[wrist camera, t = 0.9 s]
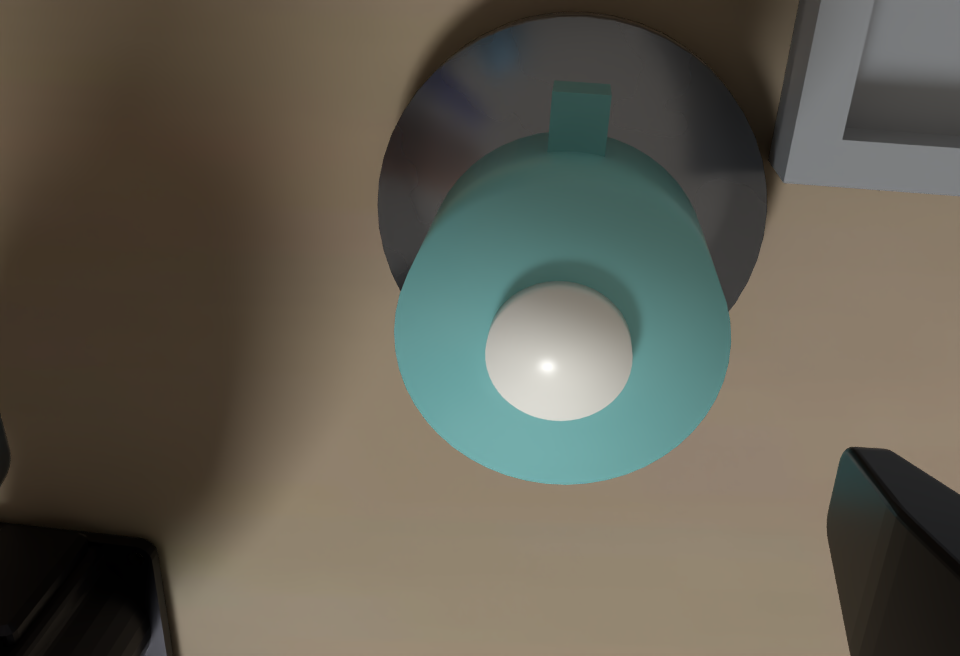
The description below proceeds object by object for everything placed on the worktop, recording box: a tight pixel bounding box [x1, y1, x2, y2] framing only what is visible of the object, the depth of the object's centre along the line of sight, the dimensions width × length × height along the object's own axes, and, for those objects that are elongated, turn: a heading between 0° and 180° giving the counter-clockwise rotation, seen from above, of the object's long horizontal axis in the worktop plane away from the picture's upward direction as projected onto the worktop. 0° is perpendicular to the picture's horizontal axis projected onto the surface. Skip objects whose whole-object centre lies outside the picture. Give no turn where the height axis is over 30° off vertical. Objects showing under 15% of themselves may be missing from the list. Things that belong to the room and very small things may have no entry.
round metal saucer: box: [378, 12, 767, 312], centre depth 20 cm, size 9×9×4 cm
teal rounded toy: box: [394, 80, 731, 485], centre depth 16 cm, size 7×6×4 cm
